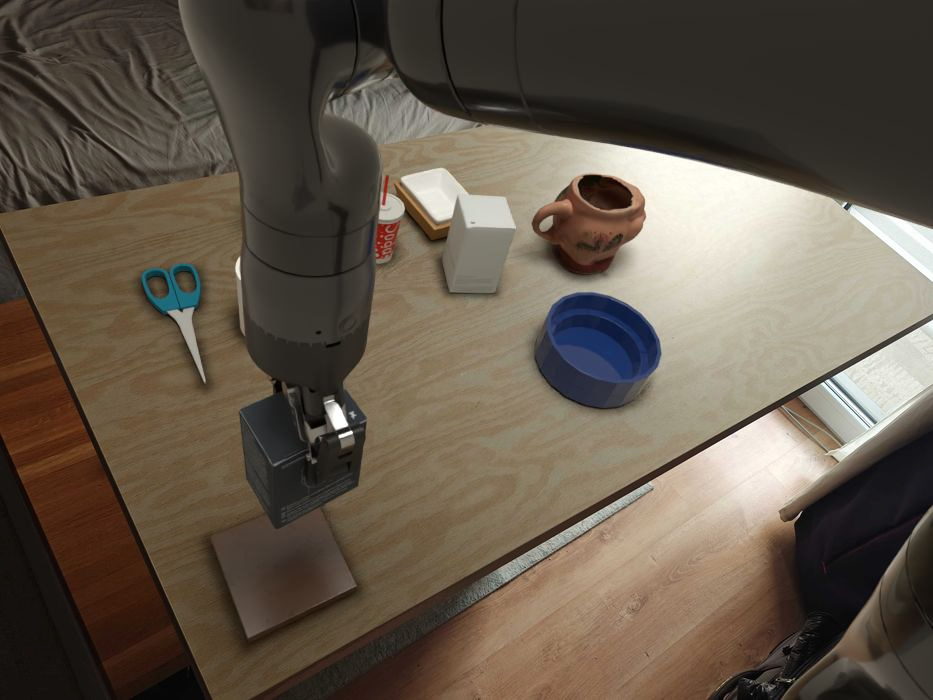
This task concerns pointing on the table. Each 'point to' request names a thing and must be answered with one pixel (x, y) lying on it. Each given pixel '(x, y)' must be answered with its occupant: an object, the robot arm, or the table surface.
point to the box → (288, 460)
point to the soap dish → (430, 199)
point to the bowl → (597, 349)
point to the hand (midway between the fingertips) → (303, 442)
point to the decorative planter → (592, 221)
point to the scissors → (172, 307)
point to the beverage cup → (388, 224)
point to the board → (281, 571)
